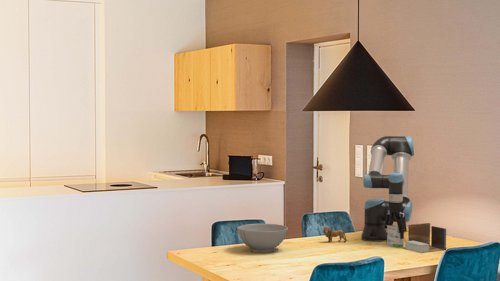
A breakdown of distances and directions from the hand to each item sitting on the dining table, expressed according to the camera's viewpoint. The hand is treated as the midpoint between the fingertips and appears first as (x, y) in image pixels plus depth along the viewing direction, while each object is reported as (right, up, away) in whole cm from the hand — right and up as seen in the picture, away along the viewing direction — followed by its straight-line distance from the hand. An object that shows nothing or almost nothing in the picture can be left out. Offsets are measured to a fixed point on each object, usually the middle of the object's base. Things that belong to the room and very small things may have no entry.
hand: (395, 243), depth 392 cm
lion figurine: (-31, -2, +16) cm, 35 cm away
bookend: (+22, -2, -6) cm, 23 cm away
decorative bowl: (-72, -3, -7) cm, 72 cm away
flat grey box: (+9, -2, -13) cm, 16 cm away
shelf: (+14, -3, -8) cm, 17 cm away
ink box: (0, -3, 0) cm, 3 cm away
